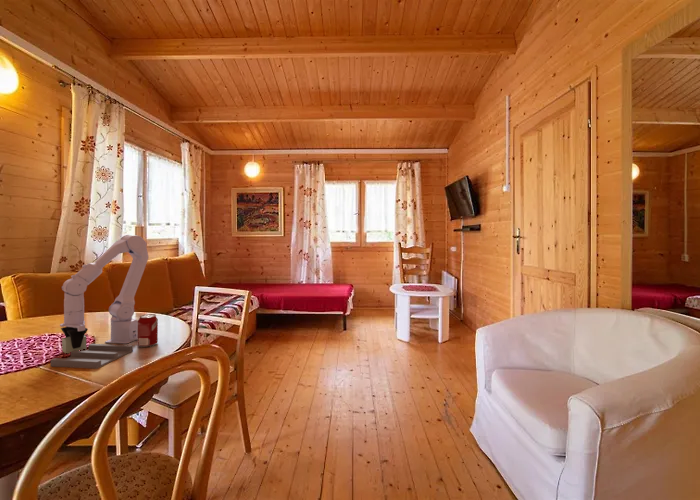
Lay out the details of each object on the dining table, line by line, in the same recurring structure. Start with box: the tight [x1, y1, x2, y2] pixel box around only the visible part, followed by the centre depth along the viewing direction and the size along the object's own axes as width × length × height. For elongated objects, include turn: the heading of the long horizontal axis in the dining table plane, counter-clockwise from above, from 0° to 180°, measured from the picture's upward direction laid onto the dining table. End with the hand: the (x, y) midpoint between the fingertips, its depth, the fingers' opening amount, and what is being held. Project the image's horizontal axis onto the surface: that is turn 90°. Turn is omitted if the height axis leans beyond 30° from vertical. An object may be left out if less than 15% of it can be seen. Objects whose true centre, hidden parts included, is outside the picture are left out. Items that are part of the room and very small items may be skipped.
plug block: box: [61, 334, 87, 354], centre depth 119 cm, size 6×4×5 cm, turn 148°
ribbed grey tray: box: [50, 343, 134, 369], centre depth 112 cm, size 16×16×2 cm
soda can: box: [137, 313, 159, 348], centre depth 127 cm, size 7×7×12 cm
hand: (74, 346), depth 119 cm, fingers closed on plug block, 4 cm apart
